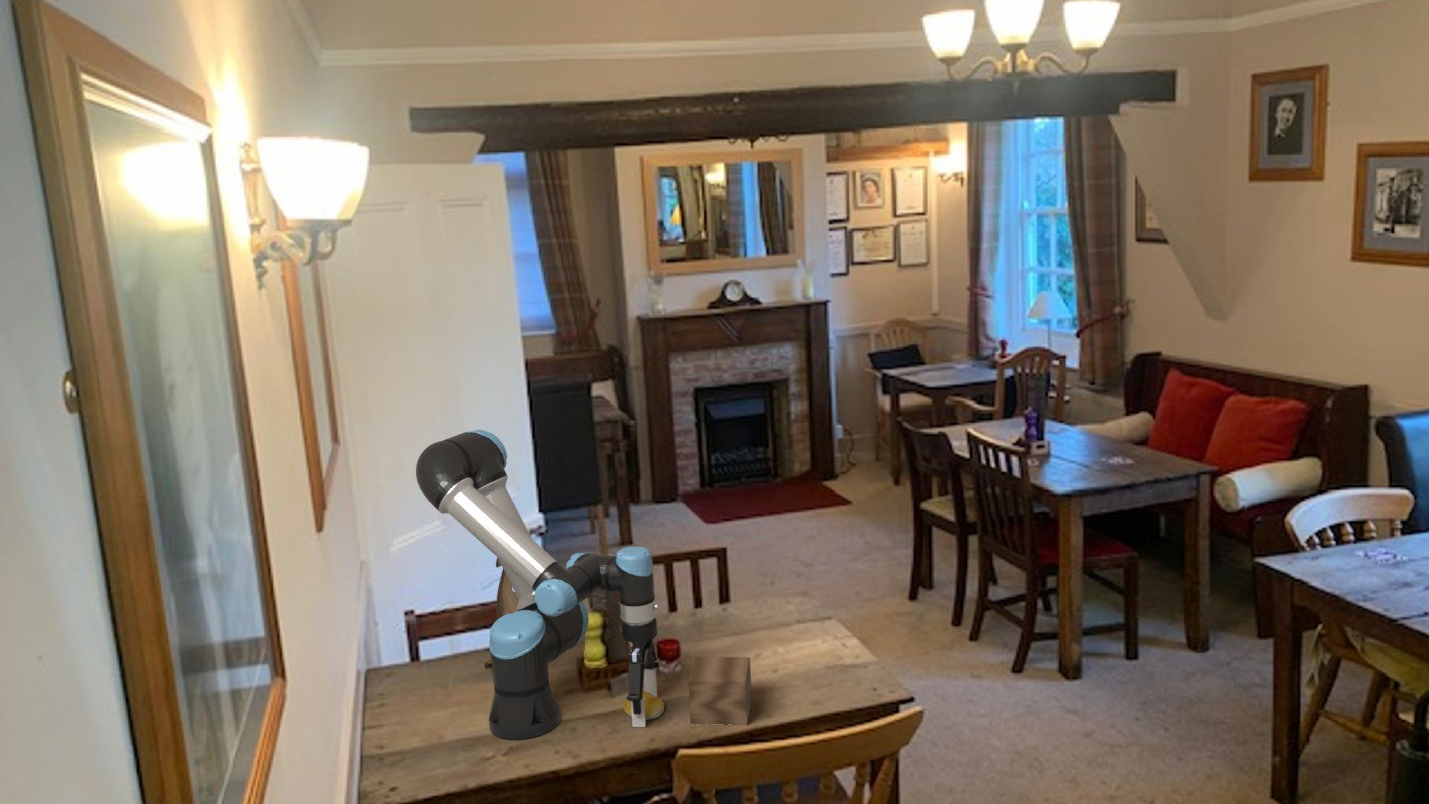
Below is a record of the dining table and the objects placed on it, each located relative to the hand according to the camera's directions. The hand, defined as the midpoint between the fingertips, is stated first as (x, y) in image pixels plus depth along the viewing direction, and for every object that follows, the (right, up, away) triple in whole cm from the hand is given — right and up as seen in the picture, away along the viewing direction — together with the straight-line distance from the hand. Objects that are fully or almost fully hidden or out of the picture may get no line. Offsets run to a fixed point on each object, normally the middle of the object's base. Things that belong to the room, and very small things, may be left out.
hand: (645, 711), depth 231 cm
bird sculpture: (-33, +3, +26) cm, 42 cm away
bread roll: (0, 0, 0) cm, 1 cm away
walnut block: (+17, 0, -2) cm, 17 cm away
